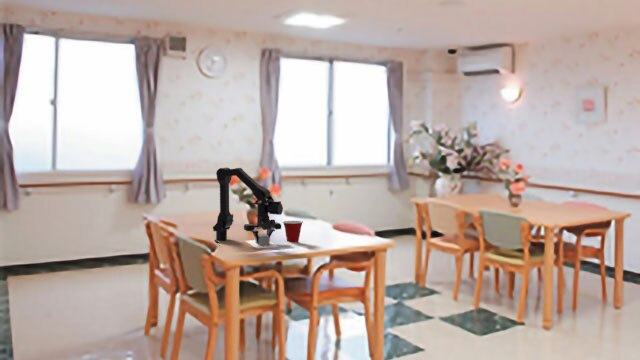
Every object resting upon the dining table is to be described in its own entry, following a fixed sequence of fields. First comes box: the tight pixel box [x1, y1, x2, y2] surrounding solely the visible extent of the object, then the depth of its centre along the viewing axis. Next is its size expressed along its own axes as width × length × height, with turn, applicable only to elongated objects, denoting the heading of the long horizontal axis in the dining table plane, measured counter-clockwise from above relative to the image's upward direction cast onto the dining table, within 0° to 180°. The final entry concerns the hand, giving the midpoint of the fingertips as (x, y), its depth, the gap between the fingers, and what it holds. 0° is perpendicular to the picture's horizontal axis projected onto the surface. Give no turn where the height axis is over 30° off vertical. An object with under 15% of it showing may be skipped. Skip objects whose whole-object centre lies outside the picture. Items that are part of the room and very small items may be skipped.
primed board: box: [245, 239, 280, 249], centre depth 306 cm, size 20×12×1 cm, turn 24°
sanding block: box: [256, 233, 271, 246], centre depth 305 cm, size 8×5×4 cm, turn 24°
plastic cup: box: [282, 220, 304, 243], centre depth 314 cm, size 11×11×12 cm
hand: (262, 243), depth 305 cm, fingers closed on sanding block, 5 cm apart
